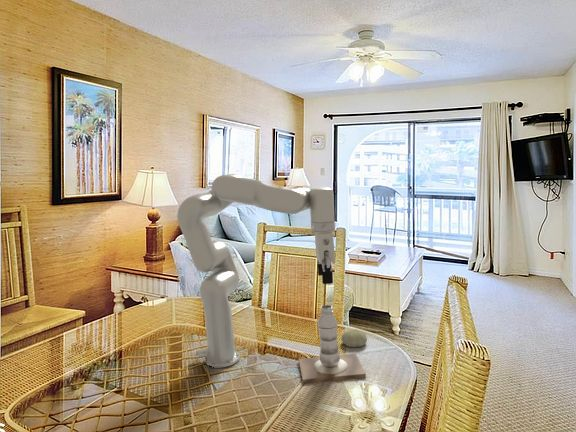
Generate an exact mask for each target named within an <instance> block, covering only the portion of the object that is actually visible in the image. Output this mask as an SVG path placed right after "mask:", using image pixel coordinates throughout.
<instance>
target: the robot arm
mask: <svg viewBox="0 0 576 432" xmlns="http://www.w3.org/2000/svg"><path fill="white" fill-rule="evenodd" d="M334 196H335V195H334V190H333V189H332V188H330V187H315V188H314V187H313V188H311V187H310V188H308V187H295V188H291V189H288V188H282V187H276V186H270V185H267V184H265V183H264V182H263V181H261V180H260V179H259V180H258V179H255V178H254V179H252V178H245V177H242V176H241V175H238V174H235V173H232V174H222V175H219V176H217V177H216V178H214V180H213V181H212V184H211V190H209V191H208V192H204V193H198V194H192V195H190V196H189V197H187V198H185V200H183V202H181V204H180V205H179V208H178V209H177V214H176V215H177V222H178V226H179V228H180V231H181V233H182V235H183V238H184V240H185V243H186V246H187V249H188V252H189V255H190V257H191V260H192V262H193V265H194V267H195V269H196V270H197V271H199V272H201V273H209V272H212V273H211V274H210V275H208V276H207V277H206V278H204V279H203V281H202V282H201V283H200V286H199V296H200V299H201V302H202V306H203V307H202V308H203V312H204V320H205V321H204V323H205V331H206V343H207V348H205V349H196V350H195V356H197V357H198V358H199V359H200V358H201V359H202V358H204V363H205V362H206V363H207V364H208V365H210V366H212V367H211V368H213V367H214V368H213V369H223V368H227V367H230V366H233V365H235V364H236V363H237V362H239V360H240V358H241V354H240V352H239V351H238V350H236V346H235V335H234V322H233V320H234V319H233V310H232V306H231V304H230V301H229V297H228V296H230V294H232V293H234V292H235V291H236V290H237V289H238V287H239V285H240V277H239V274H238V270H237V267H236V265H235V262H234V258H233V256H232V253H231V251H230V249H229V248H228V246H227V244H225V243H224V242H223V241H221V240H217V239H216V240H213V239H212V237H211V234H210V232H209V229H208V228H207V226H206V225H205V224H204V223H203V219H206V218H209V217H213V216H216V215H218V214H219V213H221V212H222V211H224V210H225V209H226V208H228V207H229V206H230V205H232V204H233V203H237V204H244V205H248V206H255V207H258V208H259V209H262V210H263V209H264V210H267V211H270V212H276V213H280V214H289V215H297V214H299V213H301V212H304V211H305V210H310V229H311V230H310V231H311V233H314V243H315V244H314V245H315V246H314V247H315V255H316V257H315V258H316V260H317V275H318V276H321V277H322V279H321V280H322V281H321V282H322V284H323V285H331V284H333V283H334V278H333V277H334V276H333V266H332V264H335V263H336V256H335V255H336V253H335V252H336V251H335V242H334V240H335V239H334V234H333V233H334V232H336V223H335V222H336V220H335V199H334V198H335V197H334Z"/></svg>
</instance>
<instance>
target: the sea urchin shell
mask: <svg viewBox="0 0 576 432" xmlns="http://www.w3.org/2000/svg"><path fill="white" fill-rule="evenodd" d="M367 339H368V337H367V335H366V333H365V332H364V331H362V330H360V329H349V330H346V331H345V332H343V333H342V334H341V341H342V344H343V345H345V346H346V347H348V348H360V347H363V346H365V345H366V343H367V341H368V340H367Z"/></svg>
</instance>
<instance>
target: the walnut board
mask: <svg viewBox="0 0 576 432" xmlns="http://www.w3.org/2000/svg"><path fill="white" fill-rule="evenodd" d="M339 355H340V361H339V363H338V365H337V366H334V367H325V366H323V365H322V364H321V362H320V356H317V357H316V356H315V357H304V358H299V359H298V366H299V369H300V375H301V379H302V384H310V383H320V382H330V381H340V380H350V379H361V378H366V377H367V375H366V371H365V369H364V367H363V365H362V363H361V362H360V359H359V357H358V355H357V353H349V354H348V353H347V354H339Z"/></svg>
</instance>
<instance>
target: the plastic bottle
mask: <svg viewBox="0 0 576 432" xmlns="http://www.w3.org/2000/svg"><path fill="white" fill-rule="evenodd" d="M320 313H321V315H320V316H319V318H318V319H317V324H316V325H317V327H318V333H319V334H318V335H319V341H320V349H319V357H320V362H321V364H322V365H323V366H325V367H334V366H337V365H338V363H339V361H340V355H341V354H340V351H339V348H338V347H339V346H338V338H337V337H338V333H337V332H338V320H337V318H336V316H335V315H334V314H333V313H334V309H333V306H332V305H330V304H324V305H321V307H320Z"/></svg>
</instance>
